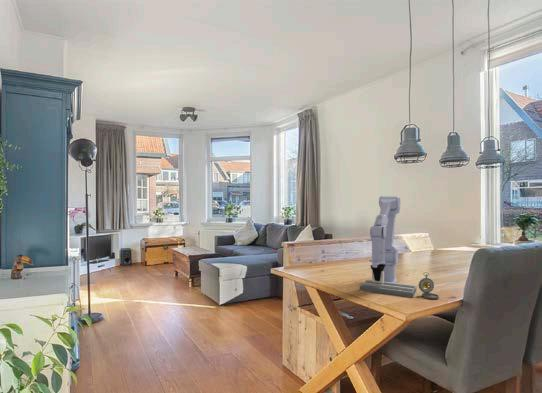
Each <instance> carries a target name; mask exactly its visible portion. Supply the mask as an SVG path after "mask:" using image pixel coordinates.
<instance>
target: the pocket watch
mask: <svg viewBox="0 0 542 393" xmlns="http://www.w3.org/2000/svg"><path fill="white" fill-rule="evenodd" d="M422 275H423V276H424V278H421V279H420V281H419V282H418V288H419V290H420V292H422V293H421V295H422V296H421V297H423V298H425V299H430V300H431V299H432V300H435V299H436V300H437V299H439V297H440V296H439V294H436V293H432V291H434V288H435V284H434V281H433V280H432V279H431V278H430V277H429V278H428V276H430V273H429V272H423V273H422Z"/></svg>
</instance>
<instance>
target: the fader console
mask: <svg viewBox="0 0 542 393" xmlns="http://www.w3.org/2000/svg"><path fill="white" fill-rule="evenodd" d="M359 291H365V292H371V293H379V294H384V295H393V296H400V297H409V298H414V296H415V295H416V293H417V285H416V286H415V284H414V285H413V284H405V283H397V282H395V283H391V282H384V285H383V284H375V283H372V279H365V281H363V282H362V283H361V284H360V285H359Z"/></svg>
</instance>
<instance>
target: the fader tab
mask: <svg viewBox="0 0 542 393" xmlns="http://www.w3.org/2000/svg"><path fill="white" fill-rule="evenodd" d="M371 280H372V283H375V284H383V285H384V271H382V272H381V278H380V281H375V279H374V274H373V271H371Z"/></svg>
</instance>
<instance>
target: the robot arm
mask: <svg viewBox="0 0 542 393" xmlns="http://www.w3.org/2000/svg"><path fill="white" fill-rule="evenodd" d="M378 205H379V208H380V211H379V214H378V215H376V217H375V221H374V223H373V225H372V226H371V227H370V228H369V236H370V242H371V259H369V262H371V263H372V264H371V265H370V269H371V270H372V271H373V274H374V279H375V281H380V278H381V272H382V271H384V282H391V283H397V281H398V278H396V265H397V264H398V263H399V259H400V258H399V249H398V248H397V247H396V246H395V245H394V238H395V227H396V226H395V225H396V223H395V222H396V218H397V217H396V216H397V215H398V214H400V211H401V197H400V196H399V195H393V196H392V195H380V197H379V198H378ZM372 271H371V272H372Z"/></svg>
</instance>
